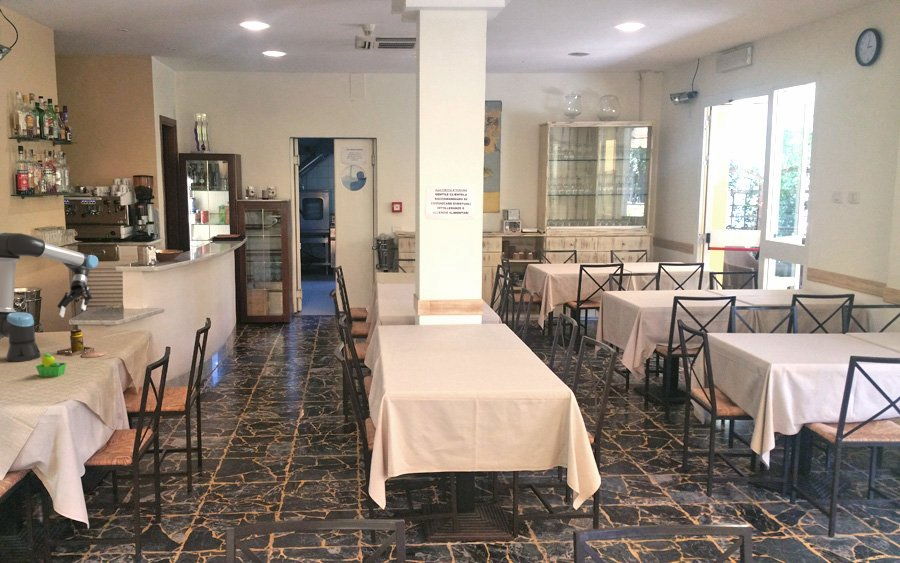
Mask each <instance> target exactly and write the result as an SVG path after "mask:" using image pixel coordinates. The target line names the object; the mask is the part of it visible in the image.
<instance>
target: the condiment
mask: <svg viewBox="0 0 900 563" xmlns="http://www.w3.org/2000/svg"><path fill="white" fill-rule="evenodd" d="M82 333H83V332H82V329H79V328H78V329H77V328H76V329H70V336H69V338H70V339H69V340H70V348H71V351H72V353H74V352H78V351H82V350H84V347H85V346H84V337H83V336H84V335H83V334H82Z"/></svg>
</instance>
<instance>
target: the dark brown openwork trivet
mask: <svg viewBox="0 0 900 563" xmlns="http://www.w3.org/2000/svg"><path fill="white" fill-rule="evenodd" d="M84 349H86V350H82V351H78V352H74V353H70V352H69V351H70V350H71V347H68V348H64V349H59V350H56V354H57V353H59V354H58V355H63V354H65V355H64V356H69V355H71V356H70V357H74V356H78V355H82V354H81V353H85V352H89V351H91V352H92V351H95V347H90V346H84ZM65 351H68V352H65ZM77 354H78V355H77ZM73 355H74V356H73Z"/></svg>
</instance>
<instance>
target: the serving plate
mask: <svg viewBox="0 0 900 563" xmlns="http://www.w3.org/2000/svg"><path fill="white" fill-rule="evenodd" d="M107 354H108V352H107V351H105V350H94V351H91V352H86V353H83V354H81V358H84V357H94V358H100V356H101V357H104V356H106V355H107Z"/></svg>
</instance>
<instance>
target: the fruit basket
mask: <svg viewBox="0 0 900 563" xmlns="http://www.w3.org/2000/svg"><path fill="white" fill-rule="evenodd" d="M55 361H56V358H55V357H54V356H53V355H50V353H45V354H43V355H42V356H41V364H38V365H36V366H35V368H36V370H37V373H38V374H39V377H52V378H53V377H55V378H57V377H58V378H59V377H61V376H62V375H64V374H65V372H66V371H65V370H66V366H67V362H58V361H56V362H55Z"/></svg>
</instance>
